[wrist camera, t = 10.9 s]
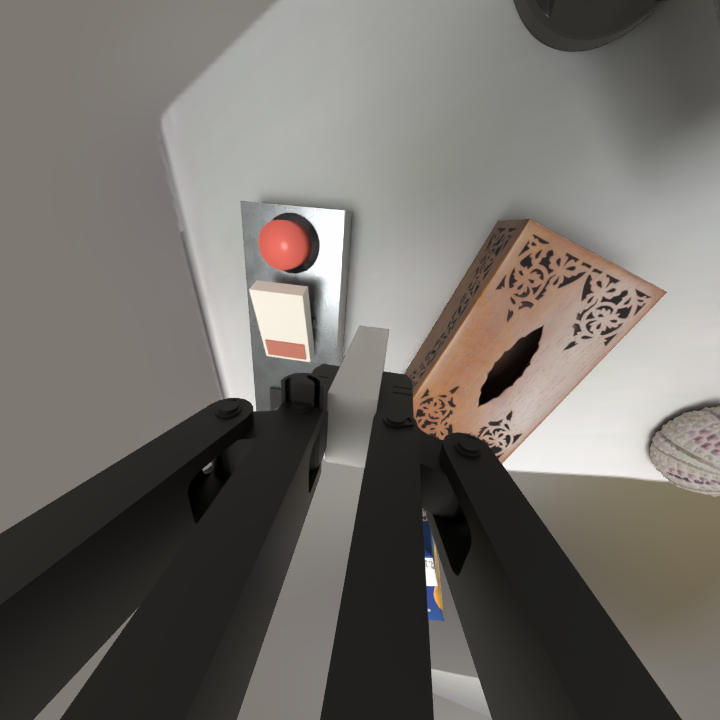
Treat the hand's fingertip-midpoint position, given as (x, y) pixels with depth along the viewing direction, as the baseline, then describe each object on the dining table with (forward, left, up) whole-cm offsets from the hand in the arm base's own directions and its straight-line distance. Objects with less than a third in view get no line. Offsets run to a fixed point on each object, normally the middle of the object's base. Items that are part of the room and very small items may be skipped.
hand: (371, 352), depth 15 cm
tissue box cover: (+7, +14, -27) cm, 31 cm away
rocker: (+6, -12, -19) cm, 23 cm away
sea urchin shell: (+18, +46, -27) cm, 56 cm away
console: (+9, -12, -26) cm, 30 cm away
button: (-3, -12, -21) cm, 24 cm away
